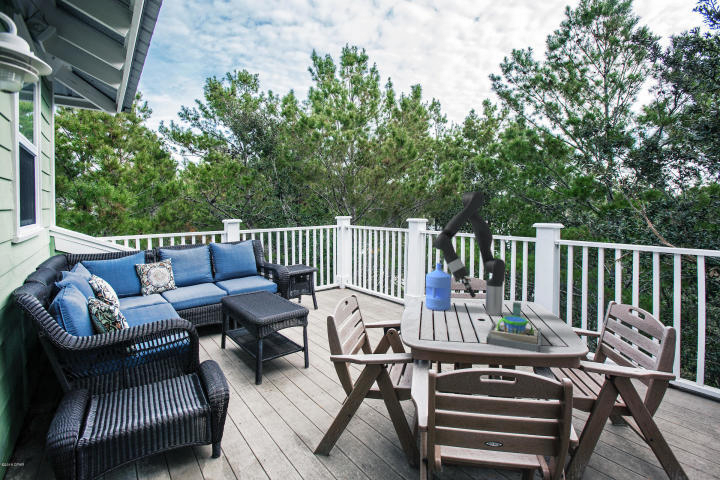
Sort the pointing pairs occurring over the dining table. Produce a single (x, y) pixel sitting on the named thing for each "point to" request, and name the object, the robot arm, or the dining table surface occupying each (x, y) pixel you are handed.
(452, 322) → the dining table surface
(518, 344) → the rectangular frame
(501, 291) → the robot arm
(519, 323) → the snack cup
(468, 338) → the dining table surface
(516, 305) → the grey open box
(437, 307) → the water jug
